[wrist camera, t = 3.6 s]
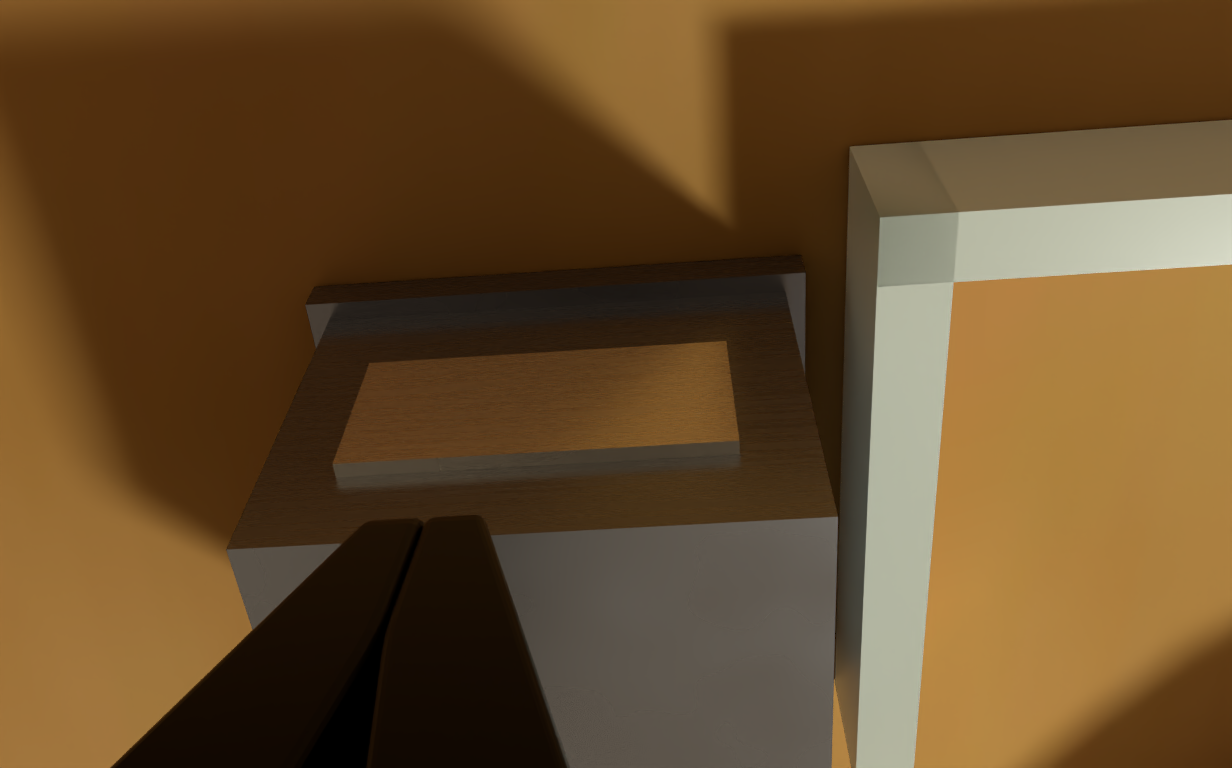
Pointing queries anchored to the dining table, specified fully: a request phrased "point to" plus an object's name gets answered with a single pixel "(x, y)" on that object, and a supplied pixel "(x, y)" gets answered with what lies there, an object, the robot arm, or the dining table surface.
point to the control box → (590, 489)
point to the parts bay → (919, 335)
